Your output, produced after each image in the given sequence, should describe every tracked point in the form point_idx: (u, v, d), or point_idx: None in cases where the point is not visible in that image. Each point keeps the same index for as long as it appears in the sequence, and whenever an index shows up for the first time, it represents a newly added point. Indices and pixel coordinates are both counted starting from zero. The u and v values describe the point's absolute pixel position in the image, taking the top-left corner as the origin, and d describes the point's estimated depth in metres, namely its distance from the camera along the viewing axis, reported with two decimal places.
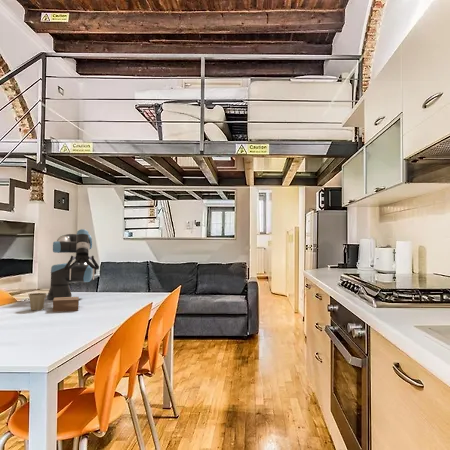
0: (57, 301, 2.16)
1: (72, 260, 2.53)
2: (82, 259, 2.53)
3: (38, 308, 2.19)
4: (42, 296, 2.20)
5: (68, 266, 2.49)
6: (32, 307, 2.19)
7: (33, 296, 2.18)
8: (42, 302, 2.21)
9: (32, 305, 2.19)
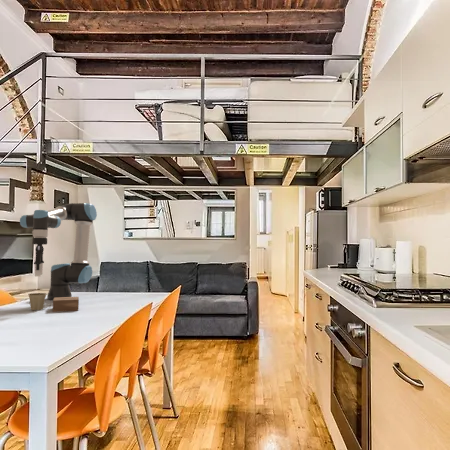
0: (57, 301, 2.16)
1: None
2: None
3: (38, 308, 2.19)
4: (42, 296, 2.20)
5: (41, 258, 2.31)
6: (32, 307, 2.19)
7: (33, 296, 2.18)
8: (42, 302, 2.21)
9: (32, 305, 2.19)
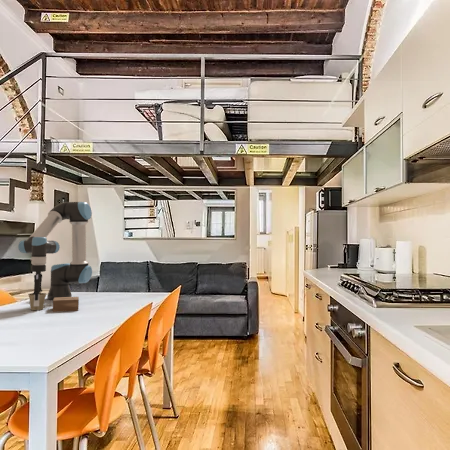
0: (57, 301, 2.16)
1: None
2: None
3: (38, 308, 2.19)
4: (42, 296, 2.20)
5: None
6: (32, 307, 2.19)
7: (33, 296, 2.18)
8: (42, 302, 2.21)
9: (32, 305, 2.19)
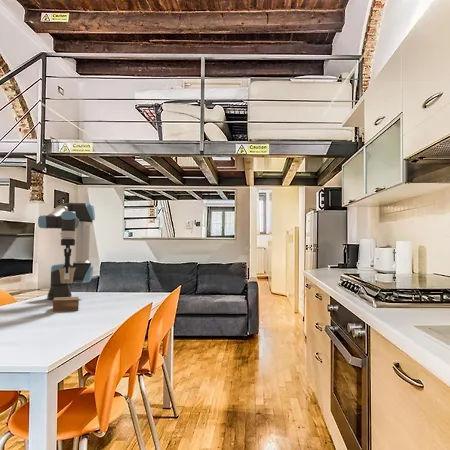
0: (57, 301, 2.16)
1: None
2: None
3: (68, 281, 2.22)
4: (72, 269, 2.23)
5: None
6: (62, 280, 2.22)
7: (63, 269, 2.20)
8: (72, 275, 2.23)
9: (62, 278, 2.21)
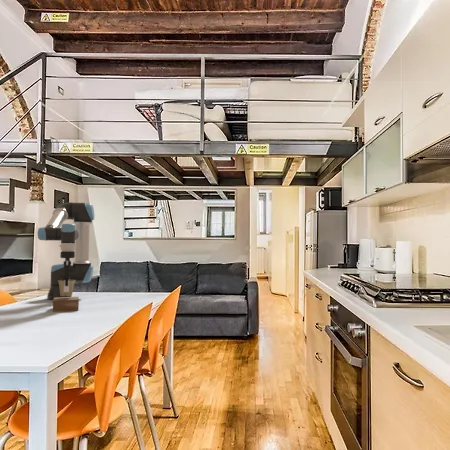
0: (57, 301, 2.16)
1: None
2: None
3: (68, 294, 2.22)
4: (71, 282, 2.22)
5: (68, 272, 2.31)
6: (62, 293, 2.21)
7: (63, 282, 2.20)
8: (71, 288, 2.23)
9: (62, 291, 2.21)
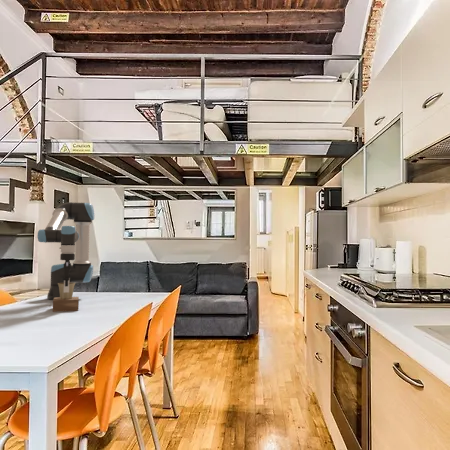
0: (57, 301, 2.16)
1: None
2: None
3: (67, 297, 2.21)
4: (71, 285, 2.22)
5: (68, 273, 2.32)
6: (61, 296, 2.21)
7: (63, 285, 2.20)
8: (71, 291, 2.23)
9: (62, 294, 2.21)
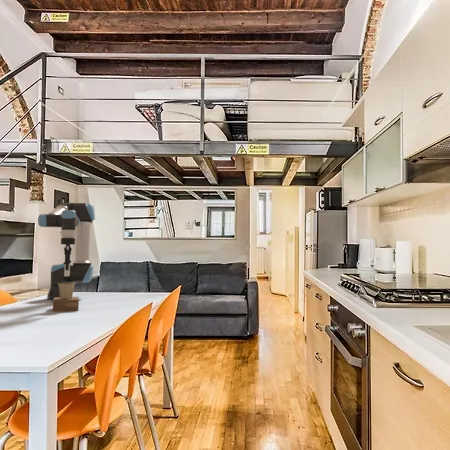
0: (57, 301, 2.16)
1: None
2: None
3: (67, 297, 2.21)
4: (71, 285, 2.22)
5: None
6: (61, 296, 2.21)
7: (63, 285, 2.20)
8: (71, 291, 2.23)
9: (62, 294, 2.21)
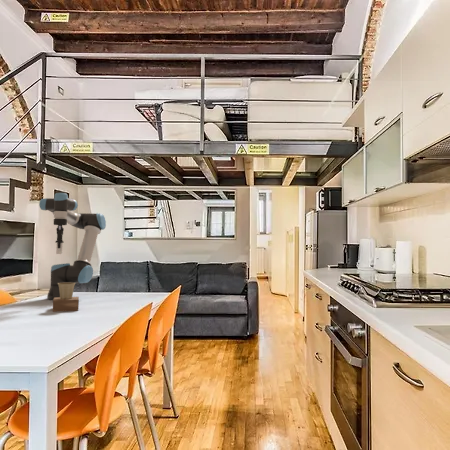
0: (57, 301, 2.16)
1: None
2: None
3: (67, 297, 2.21)
4: (71, 285, 2.22)
5: None
6: (61, 296, 2.21)
7: (63, 285, 2.20)
8: (71, 291, 2.23)
9: (62, 294, 2.21)
